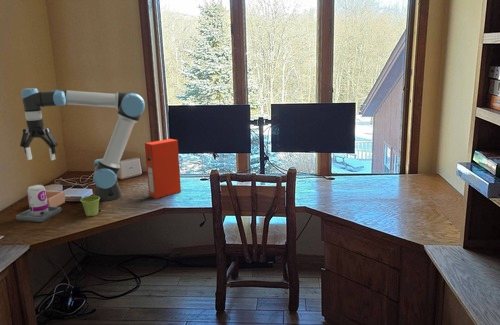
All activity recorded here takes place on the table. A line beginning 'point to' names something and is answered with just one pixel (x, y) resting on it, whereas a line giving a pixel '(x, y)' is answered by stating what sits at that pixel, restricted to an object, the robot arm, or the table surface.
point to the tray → (28, 217)
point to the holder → (54, 198)
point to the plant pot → (90, 205)
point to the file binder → (163, 168)
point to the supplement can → (37, 200)
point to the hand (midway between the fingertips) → (41, 159)
